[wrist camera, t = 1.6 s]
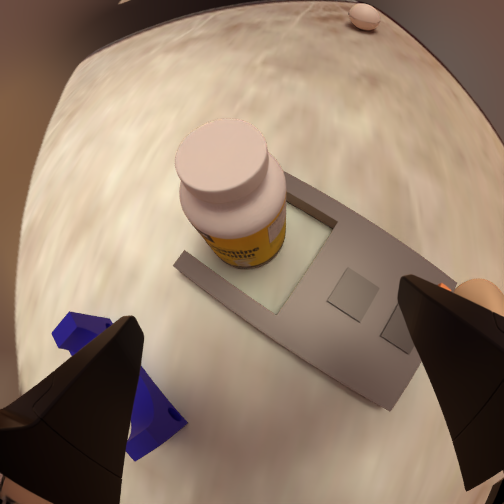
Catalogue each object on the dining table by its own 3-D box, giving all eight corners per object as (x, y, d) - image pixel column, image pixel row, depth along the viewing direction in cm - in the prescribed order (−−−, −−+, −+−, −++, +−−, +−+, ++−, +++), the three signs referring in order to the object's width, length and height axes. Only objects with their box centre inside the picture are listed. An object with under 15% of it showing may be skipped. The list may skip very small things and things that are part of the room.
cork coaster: (482, 406, 16) (484, 407, 15) (415, 363, 19) (417, 363, 18) (519, 311, 18) (521, 310, 17) (461, 258, 21) (463, 257, 20)
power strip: (382, 406, 18) (392, 413, 16) (180, 270, 23) (169, 263, 21) (446, 286, 20) (460, 281, 18) (259, 168, 26) (256, 153, 23)
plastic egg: (346, 20, 34) (347, -3, 29) (375, 26, 33) (378, 3, 28) (350, 36, 32) (353, 10, 27) (382, 42, 31) (387, 17, 26)
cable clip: (85, 345, 23) (43, 343, 17) (110, 318, 23) (69, 311, 17) (156, 445, 19) (123, 468, 13) (188, 422, 20) (160, 445, 14)
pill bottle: (197, 236, 24) (135, 162, 13) (248, 187, 25) (223, 92, 14) (248, 286, 22) (212, 238, 11) (301, 231, 23) (313, 144, 12)
